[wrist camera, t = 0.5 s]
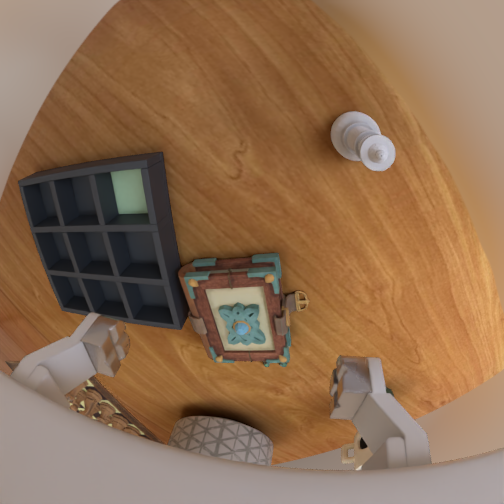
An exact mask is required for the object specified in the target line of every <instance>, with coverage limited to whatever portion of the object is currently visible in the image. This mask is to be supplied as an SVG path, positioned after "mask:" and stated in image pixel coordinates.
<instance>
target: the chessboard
mask: <svg viewBox="0 0 504 504" xmlns="http://www.w3.org/2000/svg"><path fill="white" fill-rule="evenodd" d="M5 362H6V363H7V365H8V366H9V367H10V368H11V369H12V370H13V371H14V370H15V368H16V367H17V366H18V364H19V363H20V362H11V361H5ZM65 397H66V398H67V400H68V401H69V403H70V408H69V409H71V410H73V411H75V412H78V413H80V414H82V415H84V416H87V417H89V418H91V419H94V420H96V421H98V422H101V423H103V424H106V425H108V426H111V427H114V428H116V429H119V430H122V431H124V432H127V433H130V434H133V435H136V436H139V437H142V438H145V439H148V440H151V441H154V442H158V443H161V444H164V443H163V442H162V441H161V440H159V439H158V438H157V437H156V436H155V435H154V434H152V433H151V432H150V431H149V430H148V429H147V428H146V427H144V426H143V425H142V424H141V423H140V422H139V421H138V420H137V419H136V418H135V417H133V416H132V415H131V414H130V413H129V412H128V411H127V410H126V409H125V408H124V407H123V406H122V405H121V404H120V403H119V402H118V401H117V400H116V399H115V398H114V397H113V396H112V395H111V394H110V393H109V392H108V391H107V390H106V389H105V388H104V387H103V386H102V385H101V384H100V383H99V381H98V380H97V379H96V378H95V377H94V376H92V377H90V378H89V379H87V380H86V381H85V382H83V383H82V384H80V385H79V386H77V387H76V388H74V389H73V390H71V391H70V392H68V393H67V394H65ZM164 445H165V444H164Z"/></svg>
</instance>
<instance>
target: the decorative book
mask: <svg viewBox="0 0 504 504" xmlns="http://www.w3.org/2000/svg"><path fill="white" fill-rule="evenodd" d="M281 275H282V273H281V266H280V259H279V253H269V254H257V255H253V256H252V257H249V258H237V259H224V260H217V259H216V258H208V259H195V260H194V261H193V262H192V263H189V264H186V265H185V266H183V267H182V268H181V269H180V270H179V272H178V276H179V279H180V282H181V285H182V288H183V291H184V293H185V296H186V299H187V302H188V305H189V307H190V311H189V312H188V316H189V318H190V321H191V324H192V326H193V329H194V331H195V332H197V333H198V334H200V337H201V340H202V342H203V345H204V347H205V350H206V352H207V355H208V357H209V358H210V359H212V360H214V362H221V363H234V361H251V362H252V361H262V362H263V364H264V366H265V367H269V363H279V365H280V366H282V367H286V366H287V363H286V362H289V361H290V354H289V347H288V346H291V336H290V329H289V327H288V326H290V318H289V315H290V313H291V312H292V311H297V312H298V310H299V311H304V310H306V308H307V307H308V303H309V300H308V299H307V295H306V294H305V293H304V292H302V291H296V292H295V294H290V295H288V296H287V297H286V298H285V295H284V294H283V293H282V286H281V280H280V278H281ZM299 293H301V294H303V295H304V296H305V300H300V299H299ZM300 304H306V306H305V308H303V309H300ZM264 361H265V362H264Z"/></svg>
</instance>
